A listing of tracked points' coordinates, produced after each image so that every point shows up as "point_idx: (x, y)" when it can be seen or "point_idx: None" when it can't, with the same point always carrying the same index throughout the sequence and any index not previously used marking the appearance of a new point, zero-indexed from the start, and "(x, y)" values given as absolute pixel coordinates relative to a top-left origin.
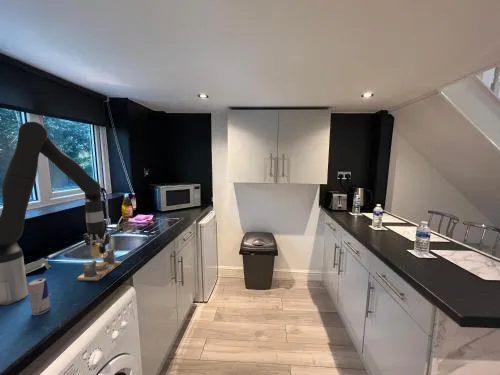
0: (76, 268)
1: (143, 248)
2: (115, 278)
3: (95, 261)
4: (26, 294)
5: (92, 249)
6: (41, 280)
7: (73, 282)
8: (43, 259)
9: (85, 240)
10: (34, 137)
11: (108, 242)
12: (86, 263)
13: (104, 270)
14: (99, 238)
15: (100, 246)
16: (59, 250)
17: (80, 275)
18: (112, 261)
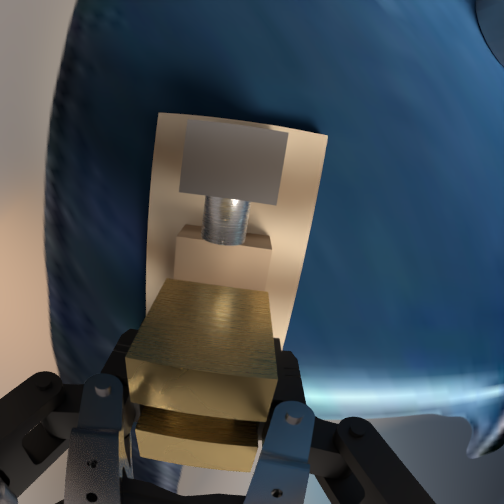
0: (410, 319)
1: (151, 474)
2: (67, 140)
3: (204, 230)
4: (483, 21)
5: (244, 343)
6: None
7: (335, 109)
8: None
9: (399, 483)
10: None
11: (40, 424)
12: (267, 166)
13: (170, 229)
14: (66, 492)
15: (134, 386)
16: (490, 446)
17: (322, 165)
18: None
